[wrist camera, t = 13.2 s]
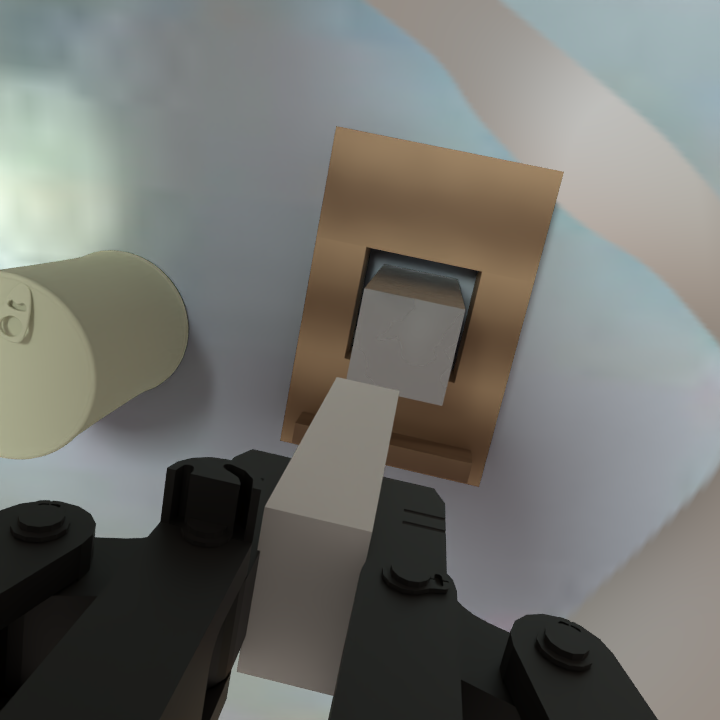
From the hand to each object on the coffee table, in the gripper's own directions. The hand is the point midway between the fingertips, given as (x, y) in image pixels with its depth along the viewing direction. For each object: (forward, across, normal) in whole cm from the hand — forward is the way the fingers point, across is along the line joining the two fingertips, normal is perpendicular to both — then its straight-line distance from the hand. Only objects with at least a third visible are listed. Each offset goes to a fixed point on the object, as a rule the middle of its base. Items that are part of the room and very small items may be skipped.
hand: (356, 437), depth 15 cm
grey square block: (+24, +1, -1) cm, 24 cm away
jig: (+24, +1, -1) cm, 24 cm away
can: (+25, -17, -6) cm, 31 cm away
